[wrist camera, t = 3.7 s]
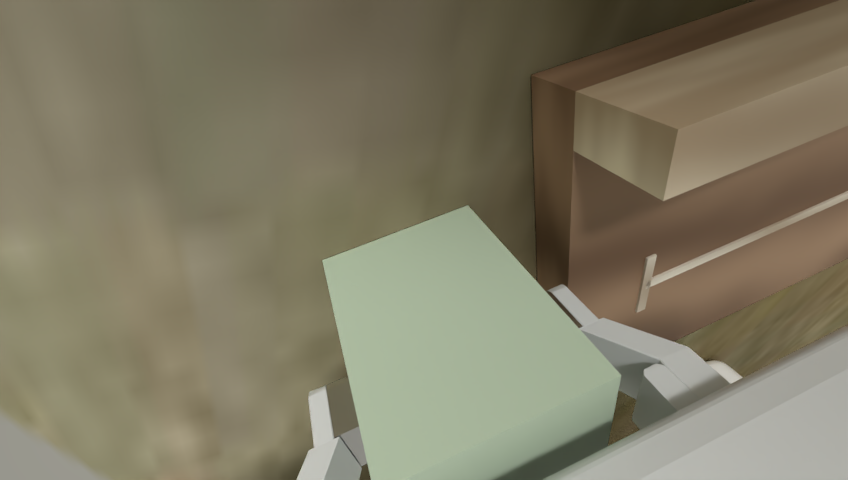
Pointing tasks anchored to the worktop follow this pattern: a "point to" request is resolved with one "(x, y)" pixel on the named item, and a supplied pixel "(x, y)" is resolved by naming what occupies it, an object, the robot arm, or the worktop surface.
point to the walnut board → (684, 223)
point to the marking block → (464, 359)
